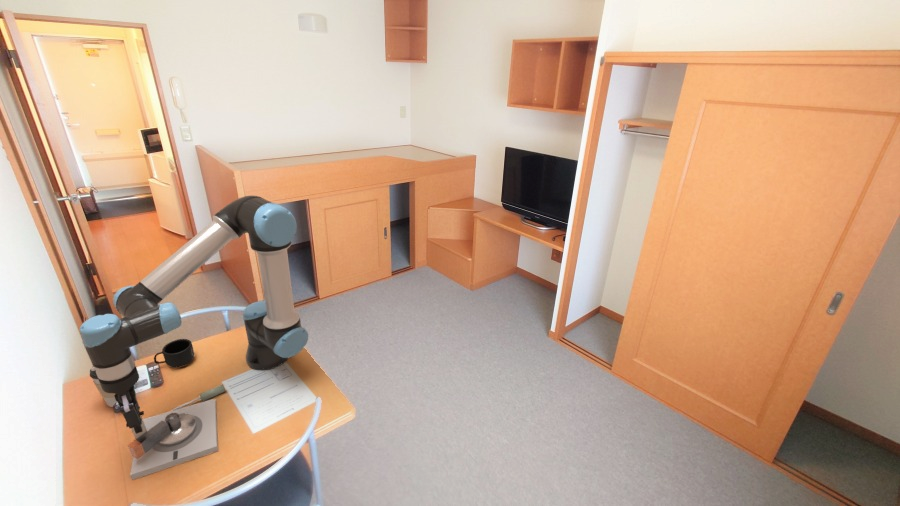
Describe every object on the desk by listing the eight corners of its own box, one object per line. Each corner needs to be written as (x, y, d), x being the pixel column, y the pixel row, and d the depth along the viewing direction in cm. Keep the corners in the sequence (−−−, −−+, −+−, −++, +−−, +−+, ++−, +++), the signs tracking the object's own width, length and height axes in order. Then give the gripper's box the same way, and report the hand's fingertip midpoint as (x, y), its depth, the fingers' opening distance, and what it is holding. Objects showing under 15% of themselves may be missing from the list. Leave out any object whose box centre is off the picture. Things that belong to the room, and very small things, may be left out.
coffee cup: (118, 412, 126) (104, 375, 119) (94, 406, 127) (79, 369, 121) (144, 391, 134) (131, 356, 127) (121, 386, 135) (107, 350, 129)
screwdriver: (222, 382, 136) (224, 386, 135) (223, 389, 137) (226, 392, 135) (170, 404, 127) (172, 408, 125) (172, 411, 127) (174, 415, 126)
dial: (181, 413, 124) (176, 399, 121) (204, 425, 120) (200, 410, 118) (124, 455, 110) (118, 440, 107) (148, 470, 107) (142, 454, 104)
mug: (194, 350, 153) (190, 335, 150) (196, 364, 147) (192, 349, 144) (156, 361, 147) (151, 345, 144) (157, 376, 140) (151, 360, 137)
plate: (216, 403, 131) (214, 398, 130) (217, 450, 116) (216, 445, 115) (141, 424, 122) (139, 419, 121) (132, 480, 106) (129, 474, 106)
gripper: (97, 362, 103) (124, 427, 113) (97, 393, 94) (126, 461, 104) (134, 352, 107) (156, 415, 118) (137, 381, 98) (160, 447, 109)
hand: (142, 437), depth 111 cm, fingers closed
